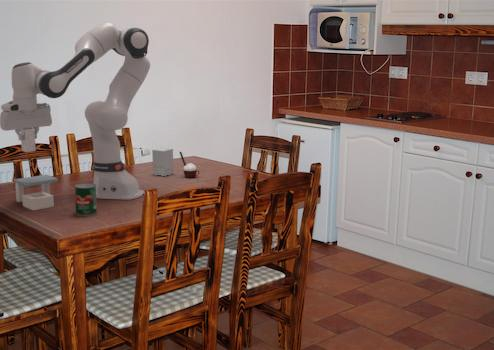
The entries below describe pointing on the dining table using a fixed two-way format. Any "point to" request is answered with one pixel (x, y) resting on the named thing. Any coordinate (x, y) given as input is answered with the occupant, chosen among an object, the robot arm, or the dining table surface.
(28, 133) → the metal peg
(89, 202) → the canned tomato
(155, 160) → the grey fluted block
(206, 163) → the dining table surface
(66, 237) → the dining table surface
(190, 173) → the cocoa
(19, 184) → the awning stand
